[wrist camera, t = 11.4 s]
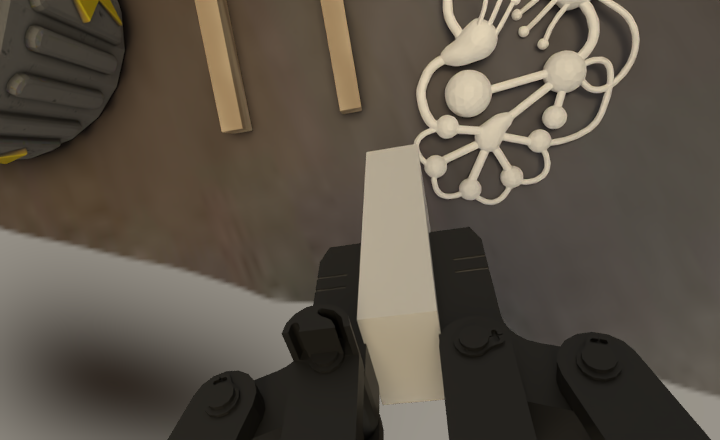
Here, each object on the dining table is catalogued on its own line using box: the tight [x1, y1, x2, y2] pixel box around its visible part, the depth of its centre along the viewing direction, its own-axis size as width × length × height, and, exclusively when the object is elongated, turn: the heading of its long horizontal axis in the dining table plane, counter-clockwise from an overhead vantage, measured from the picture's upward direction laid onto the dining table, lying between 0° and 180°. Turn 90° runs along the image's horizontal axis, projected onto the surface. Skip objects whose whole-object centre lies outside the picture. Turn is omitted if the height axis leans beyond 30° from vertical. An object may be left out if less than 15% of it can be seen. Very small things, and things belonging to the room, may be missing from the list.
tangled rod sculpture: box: [414, 0, 640, 205], centre depth 36 cm, size 19×14×4 cm
